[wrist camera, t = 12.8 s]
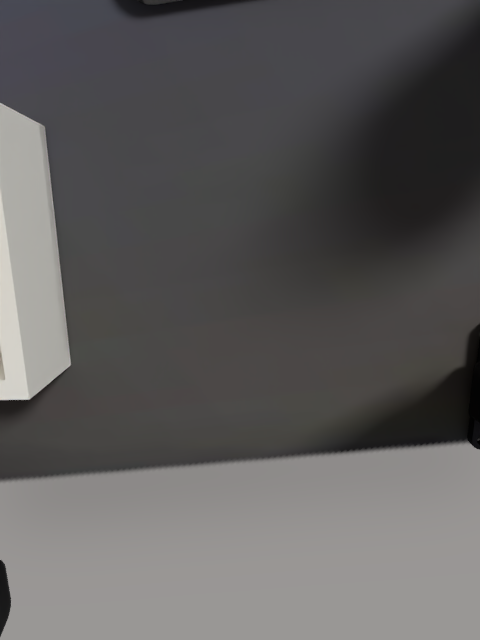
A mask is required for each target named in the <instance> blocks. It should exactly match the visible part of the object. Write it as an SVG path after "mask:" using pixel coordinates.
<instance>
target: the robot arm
mask: <svg viewBox="0 0 480 640" xmlns="http://www.w3.org/2000/svg"><path fill="white" fill-rule="evenodd" d="M469 414H470V421H469V429H468V441H469V442H470V443H471V444H472V445H473V446H474V447H475V448H477V449H480V440H479V441H477V439H478V438H479V437H480V341H479V349H478V357H477V364H476V365H475V366H474V373H473V381H472V389H471V397H470V405H469ZM10 607H11V597H10V591H9V586H8V579H7V573H6V568H5V564H4V563H3V562H2V561H1V560H0V636H1V634H2V631H3V629H4V626H5V624H6V621H7V619H8V616H9V612H10Z"/></svg>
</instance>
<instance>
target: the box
mask: <svg viewBox="0 0 480 640" xmlns="http://www.w3.org/2000/svg"><path fill="white" fill-rule="evenodd" d="M69 366H71V361H70V351H69V342H68V333H67V324H66V315H65V306H64V297H63V288H62V279H61V270H60V261H59V251H58V242H57V233H56V224H55V215H54V206H53V197H52V188H51V179H50V170H49V160H48V151H47V142H46V133H45V126H43V125H41V124H39V123H37V122H35V121H33V120H32V119H30V118H28V117H26V116H24V115H22V114H20V113H18V112H16V111H15V110H13V109H11V108H9V107H7V106H5V105H3V104H1V103H0V400H30V399H31V398H32V397H33V396H34V395H36V394H37V393H38V392H39V391H40V390H42V389H43V388H44V387H45V386H46V385H48V384H49V383H50V382H51V381H52V380H54V379H55V378H56V377H57V376H58V375H60V374H61V373H62V372H63V371H65V370H66V369H67V368H68V367H69Z"/></svg>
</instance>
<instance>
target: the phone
mask: <svg viewBox="0 0 480 640" xmlns="http://www.w3.org/2000/svg"><path fill="white" fill-rule="evenodd" d="M138 1H140V2H142V3H145V4H153V5H156V4H163V3H169V2H175V1H181V0H138Z"/></svg>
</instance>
